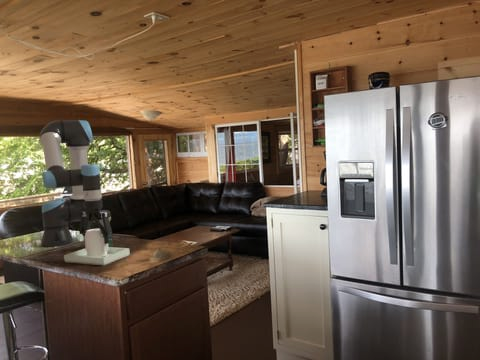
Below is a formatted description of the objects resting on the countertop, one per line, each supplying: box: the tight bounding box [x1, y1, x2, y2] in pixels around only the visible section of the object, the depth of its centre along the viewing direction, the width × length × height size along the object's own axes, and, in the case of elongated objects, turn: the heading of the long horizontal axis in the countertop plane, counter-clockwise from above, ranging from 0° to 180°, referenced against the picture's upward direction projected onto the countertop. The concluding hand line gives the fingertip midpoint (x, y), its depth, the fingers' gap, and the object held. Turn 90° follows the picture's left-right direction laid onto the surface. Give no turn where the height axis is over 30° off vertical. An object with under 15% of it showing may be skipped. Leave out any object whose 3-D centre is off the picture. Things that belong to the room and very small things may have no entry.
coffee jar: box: [91, 209, 114, 247], centre depth 190 cm, size 10×8×19 cm
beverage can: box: [85, 228, 107, 257], centre depth 171 cm, size 8×8×12 cm
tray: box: [63, 246, 131, 266], centre depth 171 cm, size 22×16×3 cm
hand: (97, 250), depth 171 cm, fingers open, 9 cm apart
